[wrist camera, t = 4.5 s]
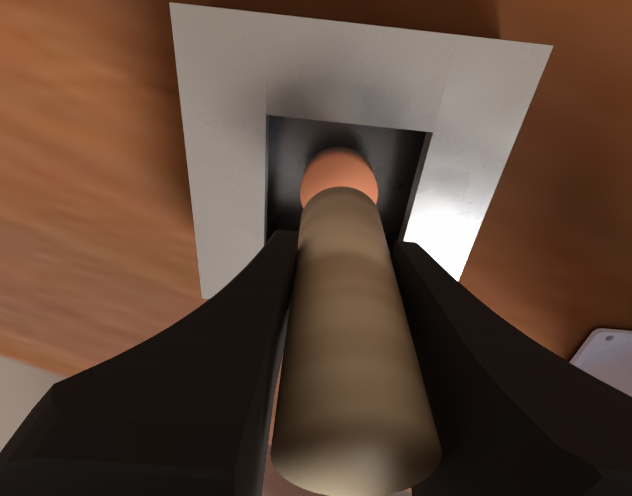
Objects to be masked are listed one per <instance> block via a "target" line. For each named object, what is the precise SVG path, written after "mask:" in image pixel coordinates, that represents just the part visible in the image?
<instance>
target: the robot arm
mask: <svg viewBox="0 0 632 496" xmlns="http://www.w3.org/2000/svg"><path fill="white" fill-rule="evenodd" d="M298 238H299V231H291V230H280V229H278V230H277V231H275V232H274V233H273V235H272V236H271V238H270V239H269V240H268V242H267V243H266V244H265V245H264V247H263V248H262V249H261V250H260V251H259V253H258V254H257V255H256V256H255V257H254V258H253V259H252V260H251V261H250V262H249V264H248V265H247V266H246V267H245V268H244V269H243V270H242V271H241V272H240V273H239V274H238V275H237V276H236V277H234V278H233V279H232V280H231V281H230V282H229V283H228V284H227V285H226V286H225V287H224V288H222V289H221V290H220V291H219V292H218V293H217V294H215V295H214V296H213V297H212V298H210V299H209V300H208V301H206V302H205V303H204V304H203V305H201V306H200V307H199V308H197V309H196V310H194V311H193V312H191V313H190V314H188V315H187V316H186V317H184V318H183V319H181V320H179V321H178V322H176V323H175V324H173V325H172V326H170V327H169V328H167V329H165V330H164V331H162V332H160V333H158V334H157V335H155V336H153V337H151V338H150V339H148V340H146V341H144V342H142V343H140V344H139V345H137V346H135V347H133V348H131V349H129V350H127V351H125V352H123V353H121V354H119V355H117V356H115V357H113V358H111V359H109V360H107V361H104V362H102V363H100V364H98V365H96V366H93V367H91V368H89V369H87V370H85V371H82V372H80V373H78V374H76V375H74V376H71V377H69V378H67V379H65V380H62V381H60V382H58V383H55V384H53V386H52V387H51V388H50V389H49V390H48V392H47V393H46V394H45V395H44V396H43V397H42V399H41V400H40V401H39V402H38V403H37V404H36V405H35V407H34V408H33V409H32V410H31V412H30V413H29V414H28V416H27V417H26V418H25V420H24V421H23V422H22V424H21V425H20V426H19V428H18V429H17V431H16V432H15V433H14V435H13V436H12V437H11V439H10V440H9V441H8V443H7V444H6V445H5V447H4V448H3V449H2V451H1V452H0V496H261V495H262V487H263V479H264V471H265V463H266V455H267V447H268V439H269V431H270V423H271V415H272V407H273V400H274V394H275V388H276V382H277V378H278V373H279V369H280V364H281V360H282V356H283V351H284V346H285V338H286V330H287V323H288V315H289V307H290V299H291V292H292V284H293V279H294V274H295V267H296V259H297V251H298ZM391 260H392V264H393V268H394V272H395V276H396V279H397V283H398V287H399V291H400V294H401V298H402V302H403V306H404V310H405V313H406V317H407V321H408V325H409V328H410V332H411V336H412V340H413V343H414V347H415V351H416V355H417V359H418V362H419V366H420V370H421V374H422V377H423V381H424V385H425V389H426V393H427V396H428V400H429V404H430V408H431V411H432V415H433V419H434V423H435V426H436V430H437V434H438V438H439V442H440V445H441V450H442V457H441V461H440V464H439V466H438V467H437V469H436V470H435V471H434V472H433V473H432V474H431V476H429V477H428V478H427V479H425V480H424V481H422V482H421V483H419V484H417V485H415V486H413V487H411V488H412V496H632V331H627V330H616V329H605V328H599V329H596V330H594V331H593V332H592V333H591V334H590V335H589V337H588V338H587V339H586V341H585V342H584V343H583V345H582V346H581V347H580V349H579V350H578V351H577V353H576V354H575V355H574V357H573V358H572V359H571V361H570V362H568V361H566V360H564V359H563V358H561V357H559V356H558V355H556V354H554V353H553V352H551V351H550V350H548V349H546V348H545V347H543V346H542V345H540V344H538V343H537V342H535V341H534V340H532V339H531V338H529V337H528V336H526V335H525V334H524V333H522V332H521V331H519V330H518V329H517V328H515V327H514V326H512V325H511V324H510V323H508V322H507V321H505V320H504V319H503V318H501V317H500V316H499V315H497V314H496V313H495V312H493V311H492V310H491V309H490V308H488V307H487V306H486V305H485V304H484V303H482V302H481V301H480V300H479V299H477V298H476V297H475V296H474V295H473V294H472V293H470V292H469V291H468V290H467V289H466V288H465V287H464V286H462V285H461V284H460V283H459V282H458V281H457V280H456V279H455V278H454V277H453V276H452V275H450V274H449V273H448V272H447V271H446V270H445V269H444V268H443V267H442V266H441V265H440V264H439V263H438V262H437V261H436V260H435V259H434V258H433V257H432V256H431V255H430V254H428V253H427V252H426V251H425V250H424V249H423V248H422V247H421V246H420V245H419V244H417V243H416V242H407V241H396V240H395V243H394V247H393V251H392V255H391Z"/></svg>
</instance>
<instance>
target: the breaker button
mask: <svg viewBox="0 0 632 496" xmlns="http://www.w3.org/2000/svg"><path fill="white" fill-rule="evenodd" d="M339 186H343V187H351V188H355V189H357V190H360V191H362V192H363V193H365V194H366V195H368V196H369V197H370V198H371V199H372V200H373V202H374V203H375V205H376V202H377V198H378V188H377V183H376V180H375V176H374V173H373V170H372V167H371V165H370V163H369V162H368V160H367V159H366V158H365V157H364V156H363V155H362V154H361V153H359V152H357V151H355V150H353V149H350V148H347V147H331V148H327V149H325V150H322V151H321V152H319V153H317V154H316V155H315V156H314V157H312V158H311V160H310V161H309V162H308V164H307V165H306V167H305V169H304V173H303V177H302V184H301V190H300V198H301V203H302V206H303V209H304V207H305V205H306V204H307V202H308V201H309V200H310V199H311V198H312V197H313V196H314V195H316V194H317V193H319V192H321V191H323V190H325V189H328V188H332V187H339Z"/></svg>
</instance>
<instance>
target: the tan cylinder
mask: <svg viewBox="0 0 632 496" xmlns="http://www.w3.org/2000/svg"><path fill="white" fill-rule="evenodd" d="M270 455H271V461H272V463H273V466H274V467H275V469H276V470H277V471H278V473H279V474H281V476H283V477H284V478H285V479H286V480H288V481H290V482H291V483H293V484H295V485H297V486H299V487H301V488H303V489H306V490H309V491H312V492H315V493H320V494H324V495H329V496H381V495H387V494H392V493H396V492H399V491H403V490H405V489H408V488H411V487H413V486H415V485H417V484H419V483H421V482H422V481H424V480H425V479H427V478H428V477H429V476H431V474H432V473H433V472H434V471H435V470H436V469H437V467H438V466H439V464H440V461H441V457H442V450H441V445H440V442H439V438H438V434H437V430H436V426H435V423H434V419H433V415H432V411H431V408H430V404H429V400H428V396H427V393H426V389H425V385H424V381H423V377H422V374H421V370H420V366H419V362H418V359H417V355H416V351H415V347H414V343H413V340H412V336H411V332H410V328H409V325H408V321H407V317H406V313H405V310H404V306H403V302H402V298H401V294H400V291H399V287H398V283H397V279H396V276H395V272H394V268H393V264H392V260H391V257H390V253H389V249H388V245H387V242H386V238H385V234H384V230H383V227H382V223H381V219H380V215H379V212H378V209H377V207H376V205H375V203H374V202H373V200H372V199H371V198H370V197H369V196H368V195H366V194H365V193H363V192H362V191H360V190H357V189H355V188H351V187H343V186H339V187H332V188H328V189H325V190H323V191H321V192H319V193H317V194H316V195H314V196H313V197H312V198H311V199H310V200H309V201H308V202H307V204H306V205H305V207H304V209H303V212H302V215H301V222H300V230H299V238H298V251H297V259H296V267H295V274H294V279H293V284H292V292H291V299H290V307H289V315H288V323H287V330H286V338H285V346H284V354H283V361H282V369H281V377H280V384H279V392H278V400H277V408H276V415H275V423H274V431H273V438H272V446H271V454H270Z"/></svg>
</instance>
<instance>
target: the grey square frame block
mask: <svg viewBox="0 0 632 496" xmlns="http://www.w3.org/2000/svg"><path fill="white" fill-rule="evenodd" d="M169 5H170V14H171V23H172V32H173V41H174V50H175V59H176V68H177V77H178V86H179V95H180V104H181V113H182V122H183V131H184V140H185V149H186V158H187V167H188V176H189V185H190V194H191V203H192V212H193V221H194V230H195V239H196V247H197V256H198V265H199V274H200V283H201V292H202V298H203V299H210V298H212V297H213V296H214V295H215V294H217V293H218V292H219V291H220V290H221V289H222V288H224V287H225V286H226V285H227V284H228V283H229V282H230V281H231V280H232V279H233V278H234V277H236V276H237V275H238V274H239V273H240V272H241V271H242V270H243V269H244V268H245V267H246V266H247V265H248V264H249V262H250V261H251V260H252V259H253V258H254V257H255V256H256V255H257V254H258V253H259V251H260V250H261V249H262V248H263V247H264V245H265V244H266V243H267V242H268V240H269V239H270V238H271V236H272V235H273V233H274V232H275V231H277V230H278V229H280V230H291V231H299V230H300V222H301V215H302V212H303V206H302V203H301V198H300V190H301V184H302V177H303V173H304V169H305V167H306V165H307V164H308V162H309V161H310V160H311V158H312V157H314V156H315V155H316V154H317V153H319V152H321V151H322V150H325V149H327V148H331V147H347V148H350V149H353V150H355V151H357V152H359V153H361V154H362V155H363V156H364V157H365V158H366V159H367V160H368V162H369V163H370V165H371V167H372V170H373V173H374V176H375V180H376V183H377V188H378V198H377V202H376V207H377V209H378V212H379V215H380V219H381V223H382V227H383V230H384V234H385V238H386V242H387V245H388V249H389V253H390V257H391V255H392V251H393V247H394V243H395V240H396V241H407V242H416V243H417V244H419V245H420V246H421V247H422V248H423V249H424V250H425V251H426V252H427V253H428V254H430V255H431V256H432V257H433V258H434V259H435V260H436V261H437V262H438V263H439V264H440V265H441V266H442V267H443V268H444V269H445V270H446V271H447V272H448V273H449V274H450V275H452V276H453V277H454V278H455V279H456V280H457V281H458V280H459V277H460V275H461V273H462V270H463V268H464V265H465V263H466V260H467V258H468V255H469V253H470V250H471V248H472V245H473V243H474V241H475V238H476V236H477V233H478V231H479V228H480V226H481V223H482V221H483V218H484V216H485V213H486V211H487V209H488V206H489V204H490V201H491V199H492V196H493V194H494V191H495V189H496V186H497V184H498V181H499V179H500V176H501V174H502V172H503V169H504V167H505V164H506V162H507V159H508V157H509V154H510V152H511V149H512V147H513V144H514V142H515V140H516V137H517V135H518V132H519V130H520V127H521V125H522V122H523V120H524V117H525V115H526V112H527V110H528V108H529V105H530V103H531V100H532V98H533V95H534V93H535V90H536V88H537V85H538V83H539V80H540V78H541V76H542V73H543V71H544V68H545V66H546V63H547V61H548V58H549V56H550V53H551V51H552V48H553V46H552V45H544V44H536V43H528V42H521V41H513V40H505V39H497V38H488V37H479V36H470V35H461V34H452V33H444V32H435V31H426V30H417V29H408V28H399V27H391V26H382V25H373V24H364V23H355V22H346V21H337V20H329V19H320V18H311V17H302V16H293V15H284V14H276V13H267V12H258V11H249V10H240V9H231V8H223V7H214V6H205V5H194V4H183V3H172V2H169Z"/></svg>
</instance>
